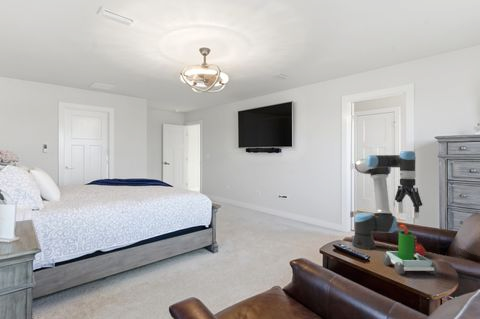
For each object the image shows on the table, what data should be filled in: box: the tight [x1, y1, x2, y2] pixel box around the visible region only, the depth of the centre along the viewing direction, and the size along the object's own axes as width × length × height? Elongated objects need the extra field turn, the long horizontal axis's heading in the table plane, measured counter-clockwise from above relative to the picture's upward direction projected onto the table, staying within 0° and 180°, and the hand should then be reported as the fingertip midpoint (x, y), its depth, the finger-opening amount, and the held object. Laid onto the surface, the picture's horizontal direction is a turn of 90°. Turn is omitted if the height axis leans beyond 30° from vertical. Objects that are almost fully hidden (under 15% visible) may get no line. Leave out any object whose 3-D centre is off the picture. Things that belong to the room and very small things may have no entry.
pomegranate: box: [416, 241, 427, 257], centre depth 167 cm, size 10×10×9 cm
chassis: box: [382, 250, 438, 275], centre depth 145 cm, size 18×19×8 cm
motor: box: [397, 224, 418, 260], centre depth 145 cm, size 10×9×20 cm
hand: (407, 215), depth 145 cm, fingers open, 13 cm apart
